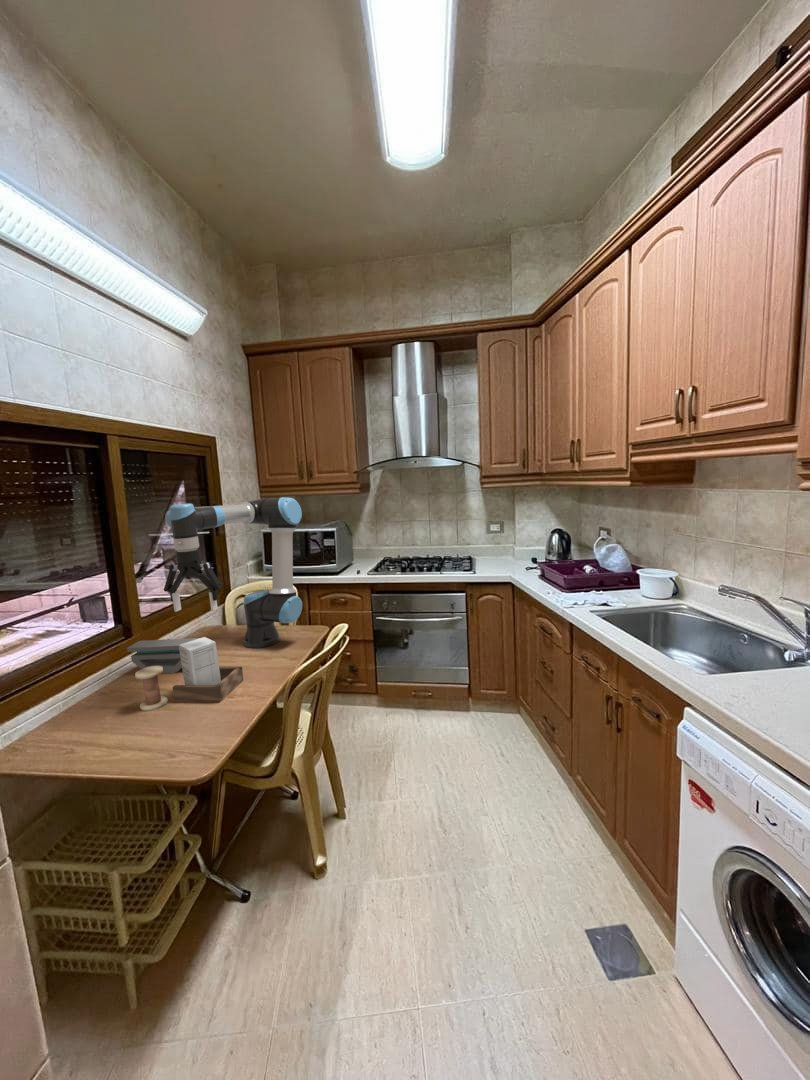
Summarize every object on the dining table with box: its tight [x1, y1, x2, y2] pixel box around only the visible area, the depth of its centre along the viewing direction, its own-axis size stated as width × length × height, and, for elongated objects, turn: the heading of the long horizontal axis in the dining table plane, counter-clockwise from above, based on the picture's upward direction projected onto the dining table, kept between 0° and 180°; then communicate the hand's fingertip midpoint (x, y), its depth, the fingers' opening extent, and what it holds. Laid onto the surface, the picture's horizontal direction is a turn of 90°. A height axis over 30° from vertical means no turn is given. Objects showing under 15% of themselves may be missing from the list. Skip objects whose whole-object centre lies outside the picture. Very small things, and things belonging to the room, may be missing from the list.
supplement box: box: [179, 636, 221, 685], centre depth 157 cm, size 10×9×17 cm
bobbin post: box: [134, 666, 169, 712], centre depth 149 cm, size 8×8×12 cm
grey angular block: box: [126, 637, 200, 674], centre depth 179 cm, size 25×8×11 cm, turn 88°
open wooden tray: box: [171, 666, 244, 703], centre depth 157 cm, size 16×16×5 cm
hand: (196, 610), depth 155 cm, fingers open, 13 cm apart
